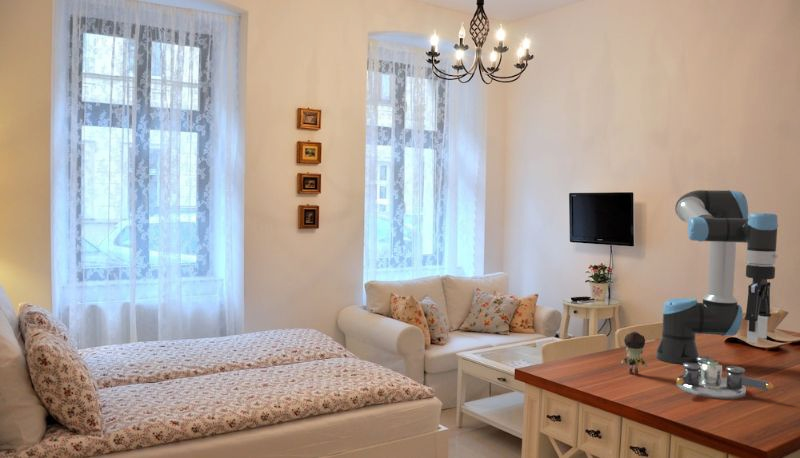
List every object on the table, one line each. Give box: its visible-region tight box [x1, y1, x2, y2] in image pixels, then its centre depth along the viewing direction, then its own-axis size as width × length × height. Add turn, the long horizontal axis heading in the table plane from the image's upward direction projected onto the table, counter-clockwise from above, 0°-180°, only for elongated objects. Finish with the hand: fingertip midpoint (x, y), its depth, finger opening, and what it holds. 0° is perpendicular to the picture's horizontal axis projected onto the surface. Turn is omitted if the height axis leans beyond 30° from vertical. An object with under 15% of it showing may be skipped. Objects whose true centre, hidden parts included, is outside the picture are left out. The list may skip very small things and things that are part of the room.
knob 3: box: [725, 365, 774, 391], centre depth 195 cm, size 13×5×6 cm, turn 46°
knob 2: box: [696, 355, 719, 377], centre depth 213 cm, size 13×5×6 cm, turn 136°
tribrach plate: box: [676, 361, 747, 400], centre depth 203 cm, size 20×20×9 cm
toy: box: [620, 331, 648, 375], centre depth 219 cm, size 9×7×15 cm
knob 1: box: [676, 362, 701, 386], centre depth 199 cm, size 13×5×6 cm, turn 136°
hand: (756, 339), depth 189 cm, fingers open, 9 cm apart
